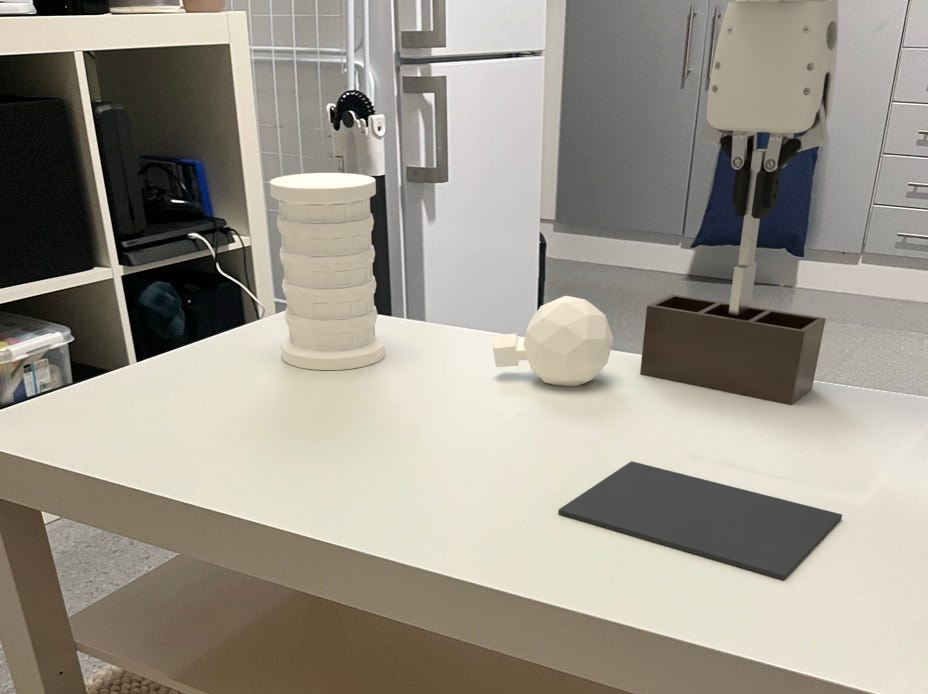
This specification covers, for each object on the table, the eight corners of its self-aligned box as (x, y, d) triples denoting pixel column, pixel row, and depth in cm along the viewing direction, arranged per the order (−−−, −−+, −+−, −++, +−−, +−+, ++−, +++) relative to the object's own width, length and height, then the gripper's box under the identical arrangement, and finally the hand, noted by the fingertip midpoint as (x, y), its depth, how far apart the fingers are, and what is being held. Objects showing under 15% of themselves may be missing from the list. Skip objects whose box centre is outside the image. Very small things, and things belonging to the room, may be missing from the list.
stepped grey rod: (750, 308, 100) (773, 148, 93) (737, 315, 98) (759, 152, 91) (741, 307, 101) (762, 147, 93) (728, 314, 99) (748, 151, 91)
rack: (664, 366, 110) (672, 294, 106) (811, 394, 102) (826, 318, 98) (639, 379, 106) (646, 305, 102) (790, 410, 98) (804, 331, 94)
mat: (841, 519, 77) (842, 514, 77) (783, 580, 69) (785, 575, 69) (630, 465, 86) (631, 460, 86) (558, 514, 78) (558, 509, 78)
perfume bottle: (615, 352, 108) (504, 362, 110) (611, 274, 101) (492, 285, 103) (615, 403, 102) (497, 411, 104) (610, 323, 95) (485, 334, 98)
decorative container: (406, 350, 115) (401, 178, 105) (339, 377, 107) (327, 192, 97) (329, 334, 121) (318, 169, 111) (260, 358, 113) (242, 182, 103)
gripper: (890, -21, 84) (847, 216, 94) (716, -16, 92) (693, 203, 101) (862, -22, 79) (819, 230, 88) (679, -16, 87) (659, 214, 96)
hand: (752, 214), depth 95 cm, fingers closed on stepped grey rod, 1 cm apart
